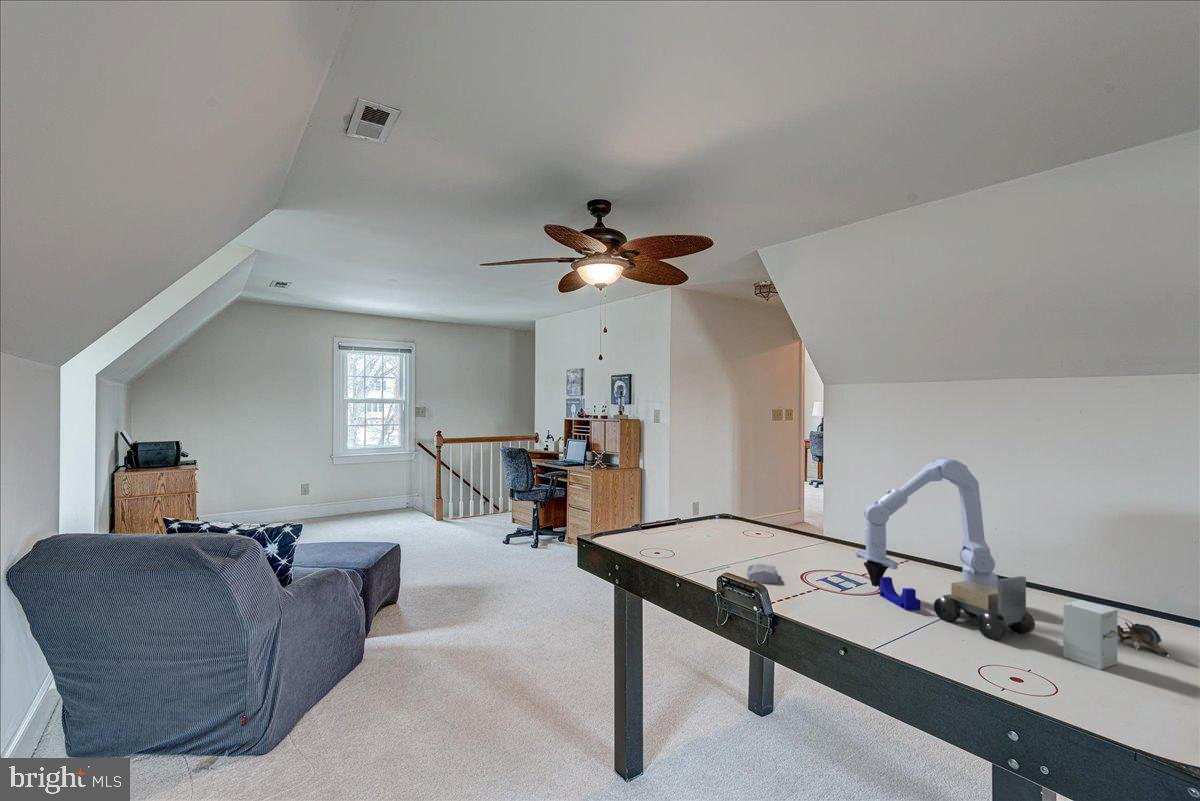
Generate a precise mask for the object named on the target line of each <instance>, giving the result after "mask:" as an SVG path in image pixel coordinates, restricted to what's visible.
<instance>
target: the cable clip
mask: <svg viewBox="0 0 1200 801" xmlns="http://www.w3.org/2000/svg"><path fill="white" fill-rule="evenodd" d="M901 590H902V591H901V594H900V595H899V594H898V593H897V591H896V589H895V587H894V583H893V577H890V576H883V577H880V586H879V596H880V597H881V596H882V598H883V599H885V600H886V601H889V602H890V603H892V604H894V605H896V606H898V607H899V608H901V609H903V610H904V611H921V599H919V598H918V597H917V595H916V592H917V591H916V589H915V588H912V587H909V588H907V587H905V588H902V589H901ZM916 597H917V598H916Z"/></svg>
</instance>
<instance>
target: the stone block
mask: <svg viewBox="0 0 1200 801" xmlns="http://www.w3.org/2000/svg"><path fill="white" fill-rule="evenodd" d="M746 574H747V575H746V576H747V578H748V579H749V580H750V579H751V580H753V581H756V582H755V583H757V582H759V583H758V584H775V585H777V584H778V583H779V580H778V578H779V573H778V570H777V569H776V565H771V564H762V563H757V564H751V565H748V567H747V569H746ZM751 580H750V581H751Z"/></svg>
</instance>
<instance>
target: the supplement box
mask: <svg viewBox="0 0 1200 801" xmlns="http://www.w3.org/2000/svg"><path fill="white" fill-rule="evenodd" d="M1062 620H1063V625H1062V626H1063V629H1062V630H1063V633H1062V634H1063V636H1062V637H1063V640H1062V643H1063V646H1062V652H1063V655H1062V656H1063V657H1064V658H1067V659H1069V660H1072V661H1075V662H1077V663H1080V664H1083V665H1085V666H1088V667H1091V668H1093V669H1097V670H1100V671H1101V670H1103V669H1106V668H1108V667H1111V666H1115V665H1118V637H1119V636H1118V629H1117V625H1118V609H1115V608H1114V607H1108V606H1106V605H1101V604H1097V603H1094V602H1089V601H1086V600H1081V599H1079V600H1074V601H1070V602H1065V603H1063V619H1062Z"/></svg>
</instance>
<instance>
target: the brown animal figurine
mask: <svg viewBox="0 0 1200 801" xmlns="http://www.w3.org/2000/svg"><path fill="white" fill-rule="evenodd" d="M1124 624H1125V626H1127V628H1128V629H1129V630H1124V628H1123V627H1121V625H1120V624H1119V625H1118V624H1117V629H1118V637H1119V640H1120V641H1119V642H1120V643H1124V641H1127V640H1129V641H1130V640H1131V643H1133V647H1134V650H1135V649H1137V650H1136V651H1138V650H1139V649H1140V643H1141V644H1144V645H1146V646H1149V647H1150V648H1151V649H1153V650H1154V651H1155V652H1157V654H1158V655H1160V656H1163V657H1165V656H1167V655H1168V654H1169V653H1168V652H1167V651H1166V650H1165V649H1164V648H1163V647H1162V646H1161V645H1159V643H1161V641H1162V639H1161V635H1160V634H1159V633H1158V631H1157V630H1156V629H1154V628H1153V627H1152V626H1151V625H1148V624H1140V623H1134V624H1132V625H1131V626H1130V624H1129V623H1128V622H1127V621H1125V622H1124ZM1124 635H1126V636H1124Z"/></svg>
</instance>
